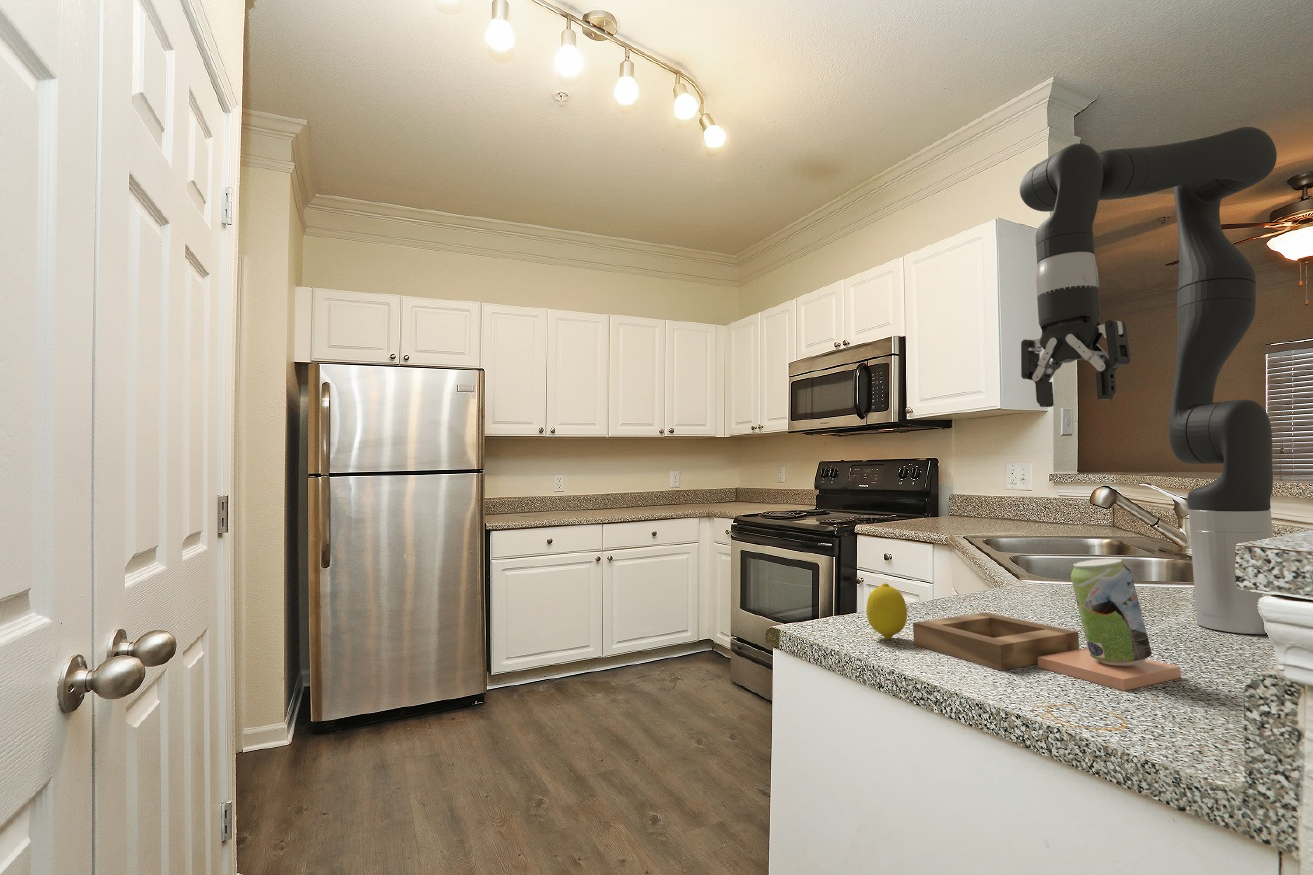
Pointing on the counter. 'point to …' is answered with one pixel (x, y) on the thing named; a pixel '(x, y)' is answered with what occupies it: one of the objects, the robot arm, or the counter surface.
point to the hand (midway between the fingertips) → (1074, 403)
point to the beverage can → (1110, 612)
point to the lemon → (886, 610)
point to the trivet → (1108, 670)
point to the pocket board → (994, 639)
